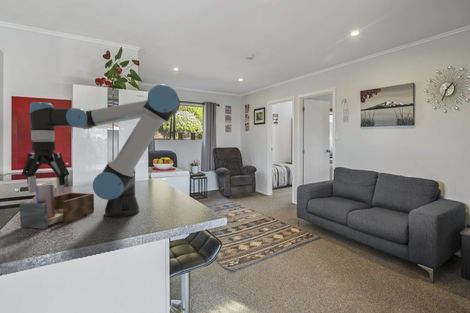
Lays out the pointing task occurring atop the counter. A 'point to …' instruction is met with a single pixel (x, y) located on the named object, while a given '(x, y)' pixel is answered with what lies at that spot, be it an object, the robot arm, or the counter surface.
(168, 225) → the counter surface
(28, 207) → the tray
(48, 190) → the beverage can
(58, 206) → the caddy
